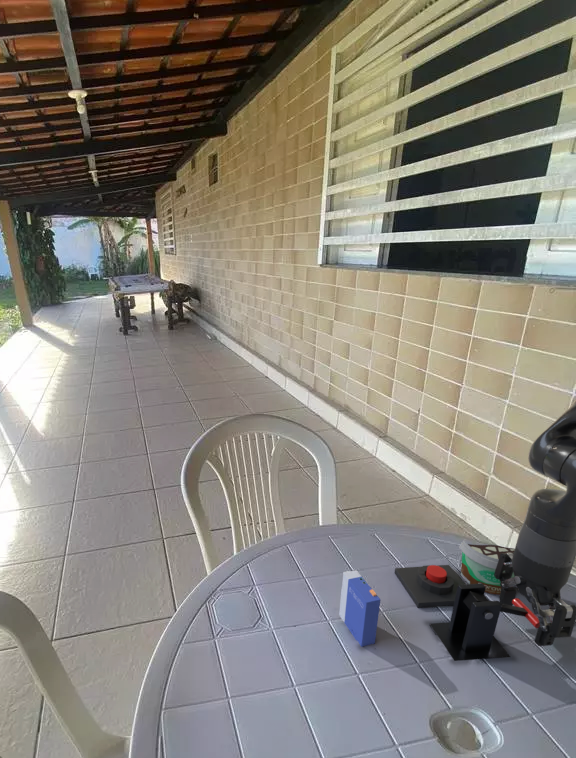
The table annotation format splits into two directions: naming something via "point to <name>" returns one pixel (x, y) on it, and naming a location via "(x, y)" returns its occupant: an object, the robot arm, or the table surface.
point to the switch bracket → (471, 628)
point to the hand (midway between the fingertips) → (522, 623)
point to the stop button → (436, 574)
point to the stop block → (429, 586)
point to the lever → (505, 607)
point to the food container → (482, 565)
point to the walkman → (359, 608)
